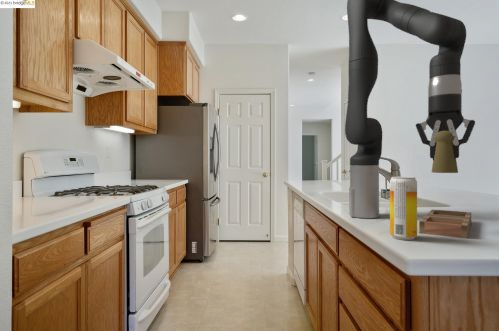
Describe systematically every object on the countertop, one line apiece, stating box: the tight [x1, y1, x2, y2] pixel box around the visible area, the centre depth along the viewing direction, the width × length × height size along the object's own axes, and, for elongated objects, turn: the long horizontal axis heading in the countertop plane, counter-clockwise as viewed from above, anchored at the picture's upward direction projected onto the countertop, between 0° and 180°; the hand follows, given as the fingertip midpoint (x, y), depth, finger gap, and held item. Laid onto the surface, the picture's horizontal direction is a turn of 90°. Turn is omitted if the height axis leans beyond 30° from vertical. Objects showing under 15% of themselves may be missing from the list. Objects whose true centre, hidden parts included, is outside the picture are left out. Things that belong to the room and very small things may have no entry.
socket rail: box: [418, 209, 472, 239], centre depth 91 cm, size 23×10×3 cm, turn 144°
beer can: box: [389, 175, 418, 241], centre depth 80 cm, size 6×6×15 cm
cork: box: [431, 131, 459, 174], centre depth 86 cm, size 6×6×11 cm
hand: (444, 160), depth 86 cm, fingers closed on cork, 4 cm apart
